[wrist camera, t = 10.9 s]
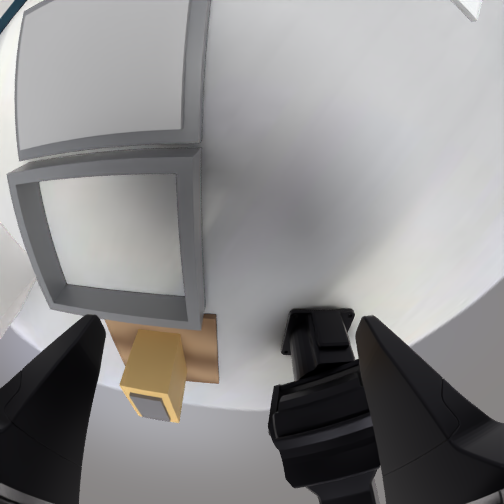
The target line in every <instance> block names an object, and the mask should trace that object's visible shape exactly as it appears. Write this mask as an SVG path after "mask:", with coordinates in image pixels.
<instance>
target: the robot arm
mask: <svg viewBox="0 0 504 504" xmlns="http://www.w3.org/2000/svg"><path fill="white" fill-rule="evenodd" d="M295 314H296V315H295ZM349 314H350V315H349ZM354 316H355V314H354V311H353V310H351V309H349V310H292V311H290V313H289V317H288V322H287V326H286V331H285V335H284V339H283V343H282V348H281V353H282V354H283V355H291V357H292V365H293V372H294V380H295V381H293V382H290V383H287V384H283V385H276V386H274V389H273V394H272V401H271V408H270V415H269V422H268V429H269V435H270V436H271V438H272V441H273V443H274V445H275V446H276V448H277V449H278V450H279V451H280V454H281V458H282V462H283V466H284V472H285V478H286V480H287V481H288V482H289V483H290V484H291V486H292V487H294V488H300V487H306V488H308V489H309V490H310V491H311V492H313V493H314V494H316V495H317V496H318V499H319V502H320V504H380V502H379V498H378V493H377V488H376V484H375V479H374V476H375V474H376V471H377V469H378V468H379V467H380V465H381V470H382V475H383V483H384V490H385V497H386V504H504V423H500V422H497V421H495V420H493V419H491V418H490V417H489V416H487V415H486V414H485V413H483V412H482V411H481V410H480V409H478V408H477V407H476V406H475V405H473V404H472V403H471V402H470V401H468V400H467V399H466V398H465V397H463V396H462V395H461V394H460V393H459V392H458V391H456V390H455V389H454V388H453V387H452V386H451V385H450V384H449V383H448V382H447V381H446V380H445V379H442V377H441V376H440V375H439V374H438V373H437V372H436V371H435V370H434V369H433V368H432V367H431V366H430V365H429V364H427V363H426V362H425V361H424V360H423V359H422V358H421V357H420V356H419V355H418V354H417V353H416V352H414V351H413V350H412V349H411V348H410V347H409V346H408V345H407V344H406V343H405V342H403V341H402V340H401V339H400V338H399V337H398V336H397V335H396V334H395V333H393V332H392V331H391V330H390V329H389V328H388V327H387V326H386V325H384V324H383V323H382V322H381V321H380V320H379V319H378V318H376V317H375V316H373V315H371V316H363V317H362V318H361V321H360V323H359V326H358V328H357V331H356V335H355V338H356V344H357V351H358V357H359V359H357V360H355V357H354V354H353V351H352V348H351V345H350V340H349V337H348V334H347V332H348V330H349V328H350V326H351V323H352V321H353V319H354ZM105 338H106V332H105V329H104V327H103V325H102V323H101V321H100V319H99V317H98V316H97V315H95V314H86V315H85V316H83V317H82V318H81V319H80V320H79V321H77V322H76V323H75V324H74V325H72V326H71V327H70V328H69V329H68V330H66V331H65V332H64V333H63V334H62V335H61V336H59V337H58V338H57V339H56V340H55V341H54V342H52V343H51V344H50V345H49V346H48V347H47V348H45V349H44V350H43V351H42V352H41V353H40V354H39V355H37V356H36V357H35V358H34V359H33V360H32V361H31V362H30V363H29V364H27V365H26V366H25V367H24V368H23V369H22V371H20V372H19V373H18V374H16V375H15V376H14V377H13V378H12V379H11V380H10V381H9V382H8V383H6V384H5V385H4V386H3V387H2V388H0V504H79V492H80V479H81V470H82V467H81V466H82V460H83V453H84V446H85V439H86V433H87V427H88V422H89V417H90V412H91V407H92V402H93V398H94V393H95V389H96V385H97V381H98V377H99V373H100V367H101V361H102V354H103V349H104V343H105Z"/></svg>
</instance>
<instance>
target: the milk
mask: <svg viewBox="0 0 504 504" xmlns="http://www.w3.org/2000/svg"><path fill="white" fill-rule="evenodd" d="M35 280H36V275H35V273H34V270H33V268H32V265H31V262H30V260H29V257H28V254H27V252H26V251H25V250H24V249H23V248H22V247H21V246H20V244H19V243H18V242H17V241H16V240H15V239H14V238H13V236H12V235H11V234H10V233H9V232H8V230H7V229H6V228H5V227H4V225H3V224H2V223H1V222H0V339H1V337H2V336H3V335H4V333H5V332H6V330H7V329H8V327H9V326H10V325H11V323H12V322H13V321H14V319H15V318H16V316H17V315H18V314H19V312H20V311H21V309H22V307H23V305H24V303H25V300H26V298H27V296H28V294H29V292H30V290H31V288H32V286H33V284H34V282H35Z"/></svg>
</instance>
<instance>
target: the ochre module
mask: <svg viewBox="0 0 504 504" xmlns="http://www.w3.org/2000/svg"><path fill="white" fill-rule="evenodd" d="M186 376H187V368H186V362H185V357H184V352H183V346H182V341H181V335H180V334H176V333H167V332H158V331H150V330H143V329H138V332H137V335H136V337H135V340H134V343H133V346H132V349H131V352H130V355H129V358H128V361H127V364H126V367H125V370H124V373H123V376H122V379H121V382H120V387H121V389H122V390H123V392H124V394H125V395H126V397H127V398H128V400H129V401H130V403H131V404H132V406H133V408H134V409H135V411H136V412H137V414H138V415H139V416H142V417H145V418H150V419H156V420H162V421H168V422H176V423H179V421H180V414H181V408H182V401H183V394H184V388H185V382H186Z"/></svg>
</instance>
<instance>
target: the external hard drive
mask: <svg viewBox="0 0 504 504" xmlns="http://www.w3.org/2000/svg"><path fill="white" fill-rule="evenodd" d="M25 2H26V0H0V33H1V32H2V31H3V29H4V28H5V26H6V25H7V24H8V23H9V21H10V20H11V19H12V17H13V16H14V15H15V14H16V12H17V11H18V10H19V9H20V8H21V6H22V5H23V4H24V3H25Z"/></svg>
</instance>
